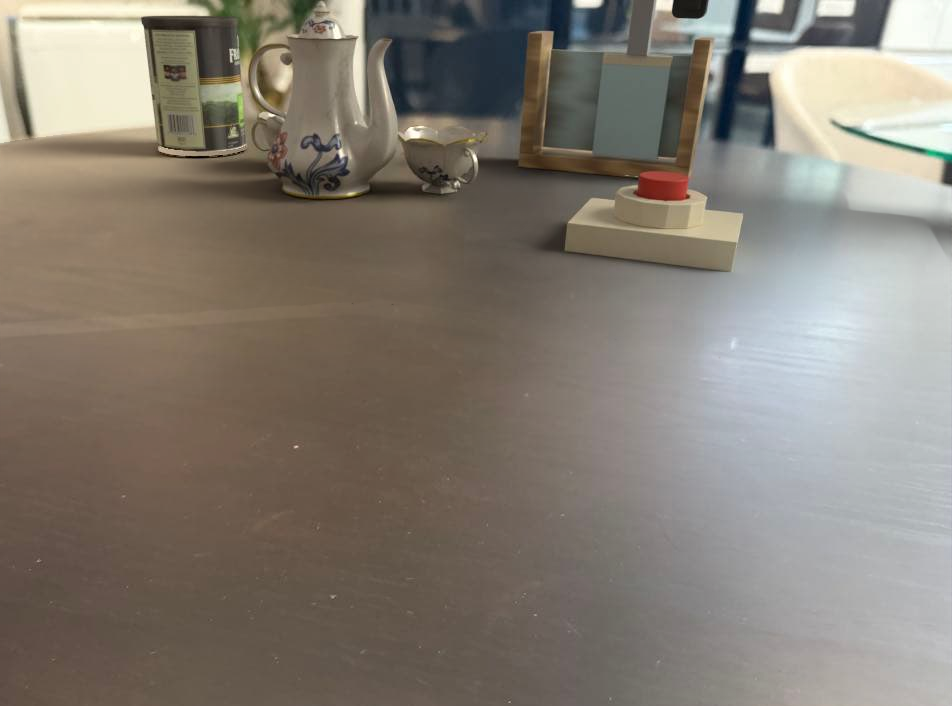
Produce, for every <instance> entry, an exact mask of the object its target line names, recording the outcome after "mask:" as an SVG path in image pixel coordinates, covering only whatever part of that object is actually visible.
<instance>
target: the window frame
mask: <svg viewBox="0 0 952 706" xmlns="http://www.w3.org/2000/svg"><path fill="white" fill-rule="evenodd" d="M554 33H555V31H554V30H537V31H531V32H528V33H527V46H526V58H525V72H524V85H523V86H524V87H523V98H522V99H523V100H522V113H521V125H520V138H519V139H520V140H519V153H518V164H517V167H518V168H527V169H537V170H549V171H557V172H569V173H580V174H591V175H599V176H600V175H601V176H613V177H621V178H623V177H624V178H632V179H633V178H634V179H639V175H640V174H641V173H643V172H649V171H664V172H674V173H679V174H683V175H686V176H688V177H689V179H690V178H691V176H693V175H692V174H693V171H694V165H695V158H696V153H697V146H698V142H699V134H700V128H701V123H702V117H703V110H704V105H705V100H706V99H705V98H706V94H707V86H708V82H709V81H708V80H709V74H710V69H711V64H712V56H713V51H714V47H715V46H714V45H715V40H716V39H715V37H710V36H709V37H708V36H699V37H698V38H695V39H694V40H693V41H694V42H693V47H692V53H691V55H687V54H685V55H684V54H664V53H663V54H660V53H649V55H658V56H673V60H672V67H671V73H670V80H669V87H668V94H667V100H666V107H665V114H664V121H663V127H662V134H661V141H660V148H659V154H658V159H657V160H650V159H639V158H627V157H616V156H604V155H593V154H592V151H593V142H594V133H595V124H596V116H597V107H598V98H599V89H600V80H601V71H602V62H603V54H604V53H615V54H627V52H622V51H621V52H620V51H599V50H598V51H596V50H575V49H555V48H554V49H553V44H554ZM529 166H530V167H529ZM625 175H629V176H625ZM635 176H638V177H635Z"/></svg>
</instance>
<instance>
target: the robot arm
mask: <svg viewBox="0 0 952 706" xmlns="http://www.w3.org/2000/svg"><path fill="white" fill-rule="evenodd" d="M709 2H710V0H672V6H671V14H672V16H673V17H674V18H676V19H684V20H685V19H689V20H690V19H691V20H698V19H702V18H703V17H705V16H706V15H707V13H708V7H709Z"/></svg>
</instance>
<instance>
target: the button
mask: <svg viewBox="0 0 952 706" xmlns="http://www.w3.org/2000/svg"><path fill="white" fill-rule="evenodd" d="M689 182H690V178H689V177H688V176H686V175H683V174H679V173H674V172H664V171H649V172H643V173H641V174H640V175H639V178H638V181H637V185H638V189H637V196H638V197H642V198H646V199H652V200H662V201H681V200H686V194H687V189H688V188H689Z"/></svg>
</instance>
